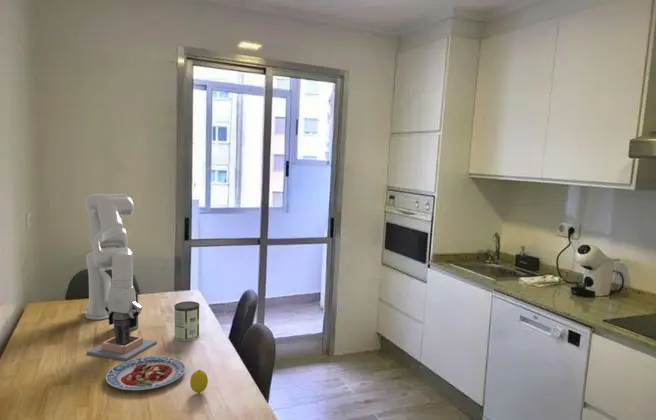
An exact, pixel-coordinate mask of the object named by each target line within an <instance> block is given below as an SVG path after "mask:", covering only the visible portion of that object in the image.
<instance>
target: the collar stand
mask: <svg viewBox="0 0 656 420" xmlns="http://www.w3.org/2000/svg"><path fill="white" fill-rule="evenodd" d="M156 344H157V340H152V339H146V338H144V337H142V336H140V335H139V336H138V335H131V334H130V339H129V344H127V345H125V346H123V345H117V344H116V340H115V336H113V337H111V338H109V339H107V340H105V341H102V342H101V344H98V346H95V347H93V348H90V349H89V350H87V351H86V354H87V355H90V354H91V355H90V356H96V355H97V357H103V358H108V359H114V360H119V361H123V362H125V361H128V360H132V358H134V357H136V356H138V355H139V354H141V353H143V352H144V351H146V350H148V349H150V348H151V347H154V346H155V345H156Z"/></svg>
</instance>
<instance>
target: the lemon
mask: <svg viewBox="0 0 656 420" xmlns="http://www.w3.org/2000/svg"><path fill="white" fill-rule="evenodd" d="M208 382H209V379H208V375H207V372H205V370H202V369H198V370H196V371H193V373H192V374H191V377H190V380H189V383H190V388H191V390H192V391H193V392H194V393H197V394H200V393H202V392H204V391H205V390H206V389H207V387H208Z"/></svg>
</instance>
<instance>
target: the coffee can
mask: <svg viewBox="0 0 656 420" xmlns="http://www.w3.org/2000/svg"><path fill="white" fill-rule="evenodd" d="M173 307H174V339H175V340H176V341H180V342H188V341H189V342H190V341H195V340H197V339H198V338H200V307H201V306H200V303H199V302H197V301H192V300H191V301H182V302H178V303H175V304H174V306H173Z"/></svg>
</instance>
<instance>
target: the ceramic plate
mask: <svg viewBox="0 0 656 420" xmlns="http://www.w3.org/2000/svg"><path fill="white" fill-rule="evenodd" d="M184 373H186V365H185V363H184V362H182V361H181V360H179V359H177V358H174V357H172V356H171V357H169V356H163V355H157V356H156V355H153V356H152V355H151V356H143V357H136V358H133V359H132V358H131V359H129V360H127V361H123V362H121V363H119V364H117V365H115V366H113V367H112V368H110V369H109V370H108V372H106V375H105V381H106V383H107V384H108V385H110V386H111V387H114V388H117V389H119V390H125V391H144V390H152V389H156V388H160V387H164V386H167V385H169V384H171V383H173V382H175V381H177V380H179V379H180V378H181V377H182V376H183V375H184Z"/></svg>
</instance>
